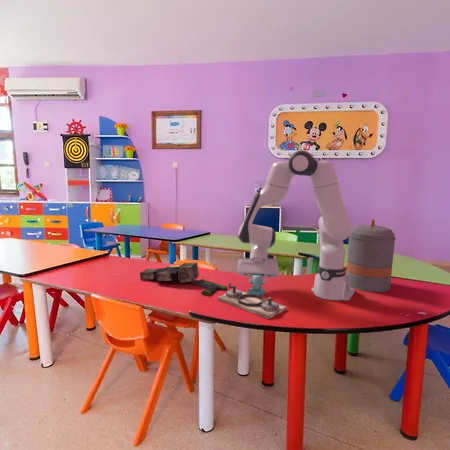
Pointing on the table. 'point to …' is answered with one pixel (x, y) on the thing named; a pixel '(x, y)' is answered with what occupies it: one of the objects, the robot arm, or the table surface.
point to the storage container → (370, 258)
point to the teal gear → (257, 286)
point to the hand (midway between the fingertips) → (256, 283)
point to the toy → (173, 273)
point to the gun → (209, 286)
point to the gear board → (252, 303)
